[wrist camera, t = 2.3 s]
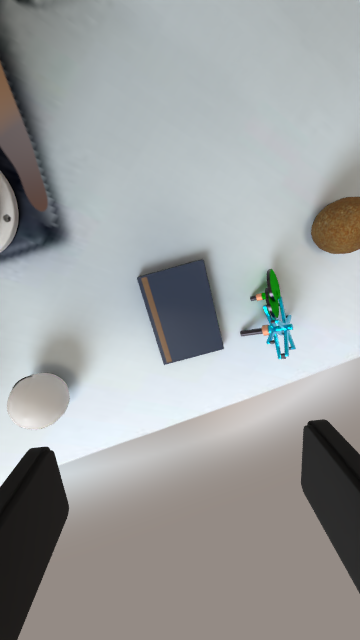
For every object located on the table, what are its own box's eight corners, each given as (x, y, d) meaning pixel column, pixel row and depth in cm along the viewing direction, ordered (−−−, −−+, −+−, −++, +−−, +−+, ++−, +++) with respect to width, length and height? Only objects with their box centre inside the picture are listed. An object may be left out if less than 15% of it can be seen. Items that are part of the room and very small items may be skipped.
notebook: (137, 276, 32) (136, 277, 31) (202, 259, 32) (203, 259, 31) (164, 361, 36) (164, 365, 34) (222, 346, 35) (224, 349, 34)
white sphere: (55, 354, 34) (26, 379, 27) (87, 391, 36) (68, 425, 29) (2, 387, 35) (-39, 420, 28) (35, 422, 37) (4, 462, 30)
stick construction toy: (303, 351, 34) (293, 365, 27) (255, 355, 38) (236, 368, 31) (286, 268, 34) (272, 263, 28) (240, 281, 38) (219, 279, 32)
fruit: (290, 238, 32) (329, 232, 24) (319, 194, 30) (371, 174, 23) (324, 263, 33) (372, 265, 25) (354, 222, 32) (414, 211, 24)
